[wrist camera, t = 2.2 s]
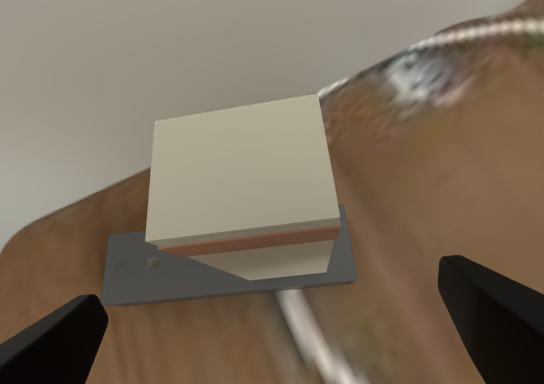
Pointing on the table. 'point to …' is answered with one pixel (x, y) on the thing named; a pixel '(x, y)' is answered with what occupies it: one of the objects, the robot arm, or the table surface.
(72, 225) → the table surface
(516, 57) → the table surface
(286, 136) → the cream tall block
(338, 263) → the gray rectangular bar
